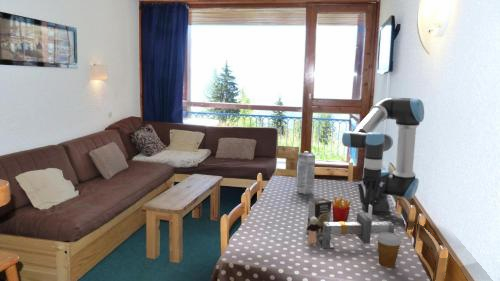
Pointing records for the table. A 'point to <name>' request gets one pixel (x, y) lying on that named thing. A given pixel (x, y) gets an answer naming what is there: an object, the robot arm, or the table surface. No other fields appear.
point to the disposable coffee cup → (388, 248)
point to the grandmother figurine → (312, 231)
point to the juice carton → (305, 172)
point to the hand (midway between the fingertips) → (368, 219)
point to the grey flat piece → (364, 228)
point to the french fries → (340, 210)
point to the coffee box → (319, 212)
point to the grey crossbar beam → (351, 230)
